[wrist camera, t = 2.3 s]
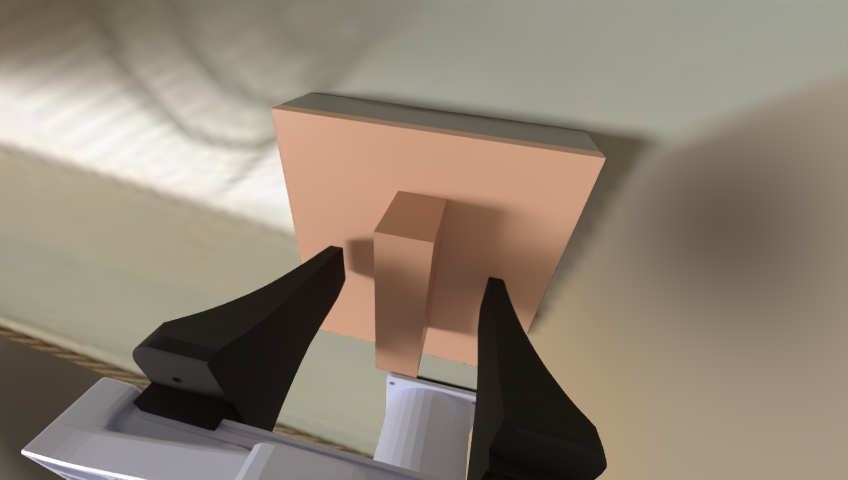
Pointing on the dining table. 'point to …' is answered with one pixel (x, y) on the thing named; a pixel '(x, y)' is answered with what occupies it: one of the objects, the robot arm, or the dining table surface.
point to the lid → (428, 224)
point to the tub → (447, 120)
